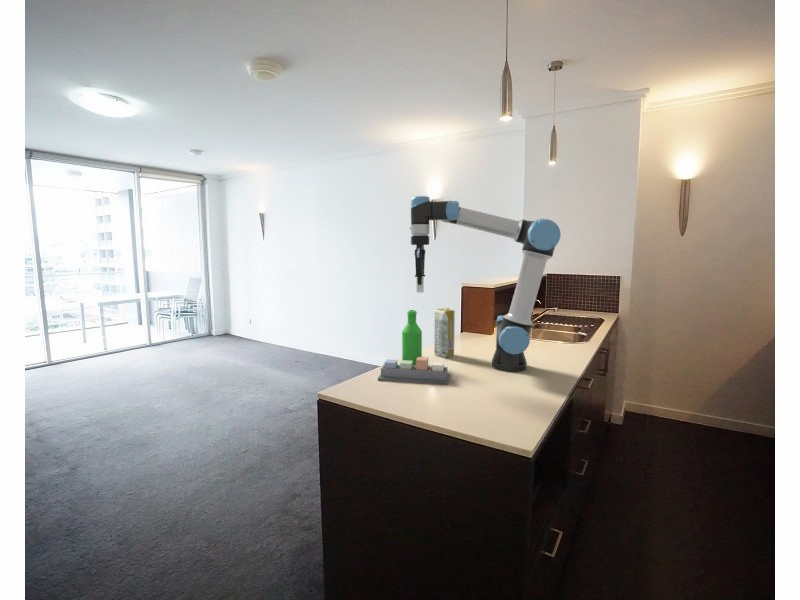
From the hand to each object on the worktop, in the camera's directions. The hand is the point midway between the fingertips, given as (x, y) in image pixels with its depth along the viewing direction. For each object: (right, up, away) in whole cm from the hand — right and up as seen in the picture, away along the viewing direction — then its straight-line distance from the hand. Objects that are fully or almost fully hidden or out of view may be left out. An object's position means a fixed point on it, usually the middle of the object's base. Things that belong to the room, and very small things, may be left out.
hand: (420, 292), depth 170 cm
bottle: (-3, -33, +15) cm, 36 cm away
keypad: (-3, -35, -4) cm, 36 cm away
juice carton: (+13, -31, +29) cm, 45 cm away
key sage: (-6, -34, -3) cm, 34 cm away
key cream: (+7, -34, -6) cm, 35 cm away
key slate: (-12, -33, -2) cm, 36 cm away
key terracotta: (+1, -32, -5) cm, 32 cm away
